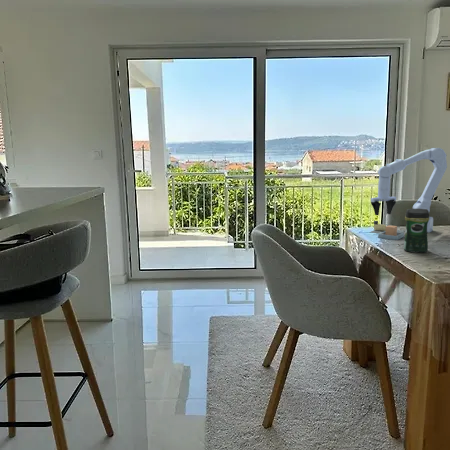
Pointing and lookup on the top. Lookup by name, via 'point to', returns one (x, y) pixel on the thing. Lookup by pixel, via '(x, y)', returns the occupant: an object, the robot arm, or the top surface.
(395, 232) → the block
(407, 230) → the coffee jar
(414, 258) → the top surface
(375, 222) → the crank
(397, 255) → the top surface
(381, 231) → the plate
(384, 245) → the top surface
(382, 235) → the tray
